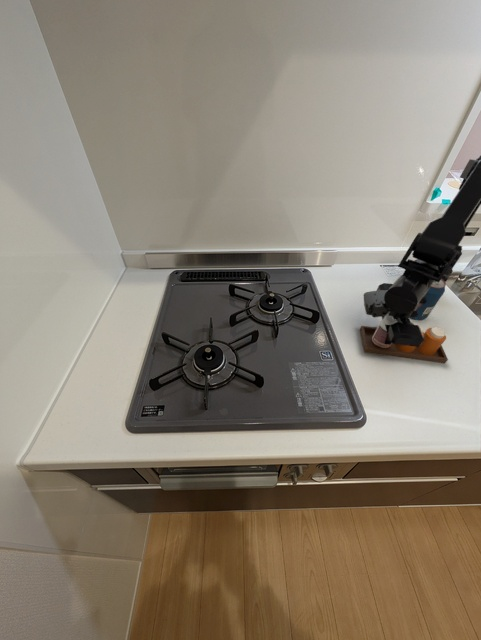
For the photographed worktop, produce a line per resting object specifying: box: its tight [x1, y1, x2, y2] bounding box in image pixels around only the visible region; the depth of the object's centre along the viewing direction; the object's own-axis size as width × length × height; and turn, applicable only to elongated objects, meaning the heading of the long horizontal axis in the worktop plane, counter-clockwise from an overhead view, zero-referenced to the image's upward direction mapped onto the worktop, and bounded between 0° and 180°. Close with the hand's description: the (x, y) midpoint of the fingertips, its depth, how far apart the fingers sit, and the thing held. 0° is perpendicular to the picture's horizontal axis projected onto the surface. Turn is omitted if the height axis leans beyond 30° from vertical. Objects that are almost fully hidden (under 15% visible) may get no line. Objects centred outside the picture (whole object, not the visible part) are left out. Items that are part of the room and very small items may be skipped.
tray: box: [359, 325, 449, 364], centre depth 71 cm, size 8×19×2 cm, turn 80°
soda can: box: [409, 279, 447, 321], centre depth 77 cm, size 7×7×12 cm
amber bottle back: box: [416, 326, 447, 355], centre depth 69 cm, size 4×4×6 cm
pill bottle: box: [372, 314, 398, 348], centre depth 69 cm, size 5×5×8 cm
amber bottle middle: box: [396, 325, 425, 353], centre depth 69 cm, size 4×4×6 cm
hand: (384, 336), depth 71 cm, fingers closed on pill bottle, 5 cm apart
